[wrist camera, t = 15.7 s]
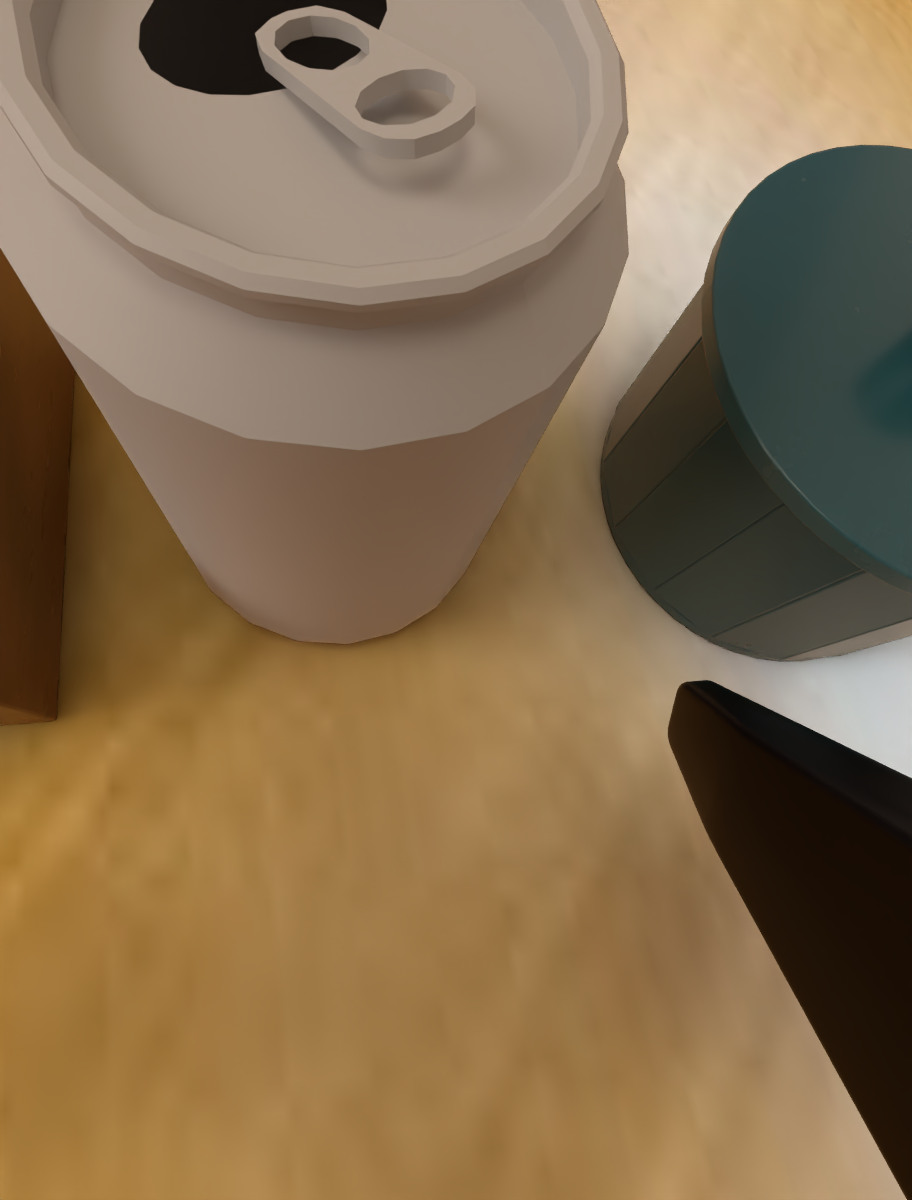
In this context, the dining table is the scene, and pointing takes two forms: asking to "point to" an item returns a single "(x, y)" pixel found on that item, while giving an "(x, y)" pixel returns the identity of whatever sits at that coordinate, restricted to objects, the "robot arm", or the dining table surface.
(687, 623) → the pot
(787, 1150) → the dining table surface
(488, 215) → the can
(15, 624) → the walnut box
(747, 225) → the pot lid
